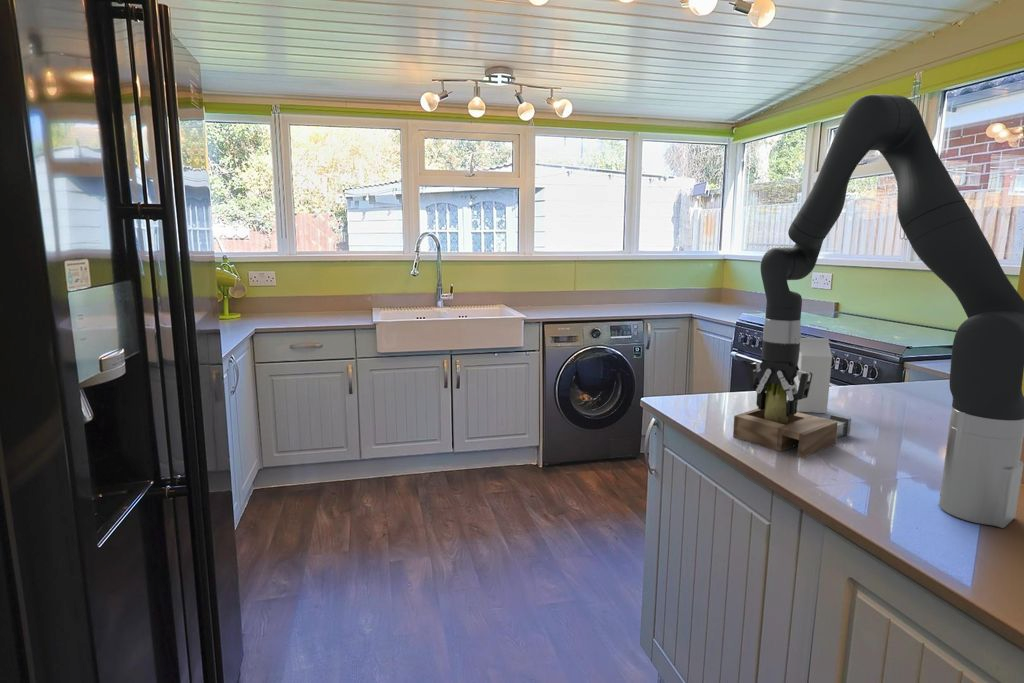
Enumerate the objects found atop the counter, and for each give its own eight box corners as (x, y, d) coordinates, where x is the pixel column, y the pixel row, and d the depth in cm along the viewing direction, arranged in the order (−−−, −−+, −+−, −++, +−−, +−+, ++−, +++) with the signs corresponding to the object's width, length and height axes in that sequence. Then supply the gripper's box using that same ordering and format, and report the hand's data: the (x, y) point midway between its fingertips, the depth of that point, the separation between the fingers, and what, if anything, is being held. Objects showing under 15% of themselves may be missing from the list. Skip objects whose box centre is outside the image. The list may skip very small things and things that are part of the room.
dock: (835, 443, 126) (837, 421, 125) (802, 457, 118) (804, 434, 117) (767, 425, 138) (768, 405, 138) (733, 436, 130) (734, 415, 130)
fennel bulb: (760, 421, 132) (764, 371, 130) (783, 422, 132) (786, 371, 130) (767, 429, 127) (771, 377, 125) (791, 430, 126) (795, 377, 124)
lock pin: (849, 434, 131) (851, 418, 130) (820, 446, 123) (822, 429, 123) (831, 429, 134) (833, 414, 133) (802, 441, 127) (803, 424, 126)
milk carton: (827, 413, 147) (833, 341, 144) (797, 412, 149) (803, 340, 145) (818, 405, 154) (824, 336, 151) (789, 404, 155) (795, 335, 152)
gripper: (741, 336, 129) (737, 408, 132) (804, 345, 118) (798, 423, 121) (760, 333, 134) (755, 402, 137) (823, 341, 122) (816, 417, 125)
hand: (775, 412), depth 129 cm, fingers closed on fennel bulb, 6 cm apart
